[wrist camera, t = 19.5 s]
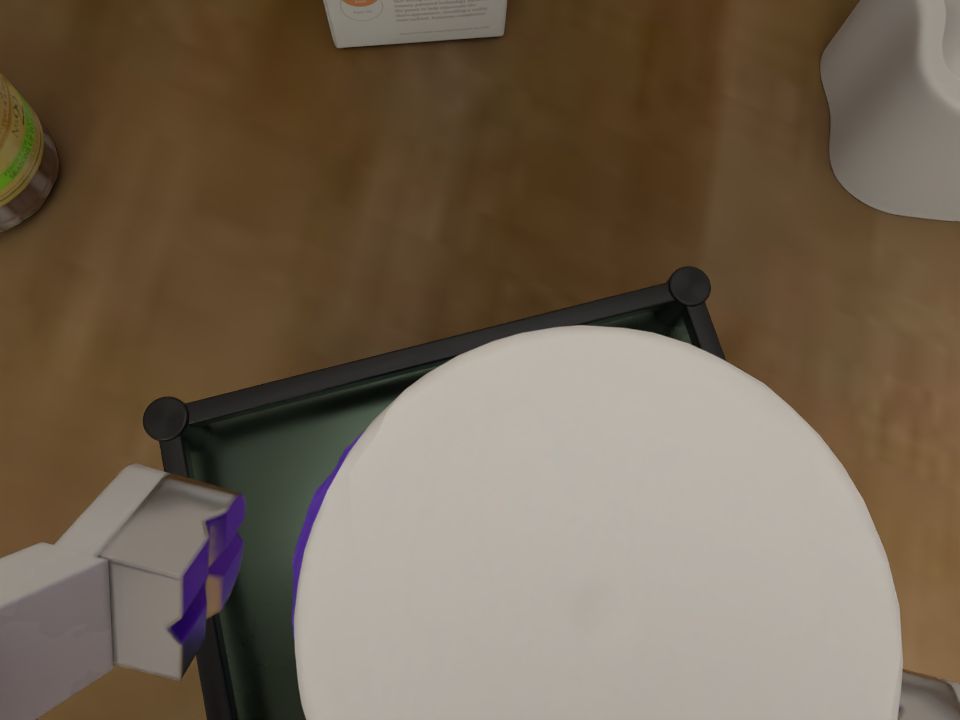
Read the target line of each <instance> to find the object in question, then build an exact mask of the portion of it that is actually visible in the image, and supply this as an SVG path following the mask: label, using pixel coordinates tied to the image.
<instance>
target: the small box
mask: <svg viewBox="0 0 960 720" xmlns="http://www.w3.org/2000/svg"><path fill="white" fill-rule="evenodd" d="M323 1H324V5H325V9H326V13H327V18H328V22H329V26H330V30H331V34H332V37H333V40H334V44H335V46H336V47H337V48H346V47H358V46H372V45H387V44H401V43H415V42H429V41H441V40H455V39H468V38H481V37H495V36H503V34H504V29H505V20H506V9H507V0H323Z"/></svg>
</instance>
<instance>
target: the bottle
mask: <svg viewBox="0 0 960 720" xmlns="http://www.w3.org/2000/svg"><path fill="white" fill-rule="evenodd" d="M292 566H293V575H294V580H293V607H292V626H293V637H294V641H295V657H296V667H297V677H298V685H299V692H300V698H301V704H302V707H303V711H304V714H305V717H306V720H897V719H898V711H899V703H900V696H901V685H902V670H903V654H902V639H901V624H900V609H899V603H898V599H897V595H896V591H895V587H894V583H893V579H892V575H891V571H890V567H889V563H888V559H887V555H886V553H885V550H884V548H883V545H882V543H881V541H880V538H879V536H878V533H877V531H876V528H875V526H874V524H873V521H872V519H871V516H870V514H869V512H868V509H867V507H866V505H865V502H864V500H863V499H862V497H861V495H860V494H859V492H858V490H857V489H856V487H855V485H854V483H853V482H852V480H851V478H850V477H849V475H848V473H847V472H846V470H845V468H844V467H843V465H842V464H841V463H840V461H839V460H838V459H837V457H836V456H835V455H834V453H833V452H832V451H831V450H830V448H829V447H828V446H827V444H826V443H825V442H824V440H823V439H822V438H821V436H820V435H819V434H818V433H817V432H816V431H815V430H814V429H813V428H812V427H811V426H810V425H809V424H808V423H807V422H806V421H805V420H804V419H803V418H802V417H801V416H800V415H799V414H798V413H797V412H796V411H795V410H794V409H793V408H792V407H791V406H789V405H788V404H787V403H786V402H785V401H784V400H783V399H781V398H780V397H779V396H778V395H777V394H776V393H774V392H773V391H772V390H771V389H770V388H769V387H768V386H766V385H765V384H764V383H762V382H760V381H759V380H757V379H755V378H754V377H752V376H750V375H749V374H747V373H745V372H743V371H742V370H740V369H738V368H737V367H735V366H733V365H732V364H730V363H728V362H726V361H725V360H723V359H721V358H719V357H717V356H715V355H713V354H710V353H708V352H706V351H704V350H702V349H700V348H697V347H695V346H693V345H691V344H689V343H686V342H682V341H679V340H676V339H672V338H669V337H666V336H663V335H659V334H656V333H653V332H647V331H641V330H635V329H628V328H618V327H603V326H585V325H577V326H564V327H554V328H548V329H542V330H536V331H530V332H524V333H520V334H516V335H513V336H509V337H506V338H502V339H499V340H495V341H492V342H490V343H487V344H485V345H482V346H480V347H477V348H475V349H473V350H470V351H468V352H465V353H463V354H460V355H458V356H456V357H455V358H453V359H451V360H449V361H448V362H446V363H444V364H443V365H441V366H439V367H437V368H436V369H434V370H432V371H430V372H429V373H427V374H426V375H424V376H423V377H422V378H420V379H419V380H417V381H416V382H415V383H413V384H412V385H411V386H409V387H408V388H407V389H405V390H404V391H403V392H402V393H401V394H400V395H399V396H398V397H397V398H396V399H395V400H394V401H393V402H392V403H391V404H390V405H389V406H388V407H387V408H386V409H385V410H384V411H382V412H381V413H380V414H379V415H378V416H377V417H376V418H375V419H374V420H373V421H372V422H371V424H370V425H369V426H368V428H367V429H366V430H365V431H364V432H363V433H362V434H361V435H360V436H358V437H357V438H356V439H355V440H354V442H353V443H352V444H351V445H350V446H349V447H348V448H346V449H345V450H344V452H343V455H342V456H341V457H340V459H339V462H338V465H337V466H336V468H335V469H334V471H333V472H332V474H331V475H330V476H329V477H328V478H327V479H326V480H325V481H324V483H323V484H322V485H321V486H320V487H319V488H318V489H317V490H316V491H315V492H314V495H313V498H312V501H311V504H310V506H309V508H308V511H307V515H306V518H305V521H304V524H303V527H302V530H301V533H300V536H299V538H298V541H297V544H296V548H295V552H294V556H293V561H292Z"/></svg>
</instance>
